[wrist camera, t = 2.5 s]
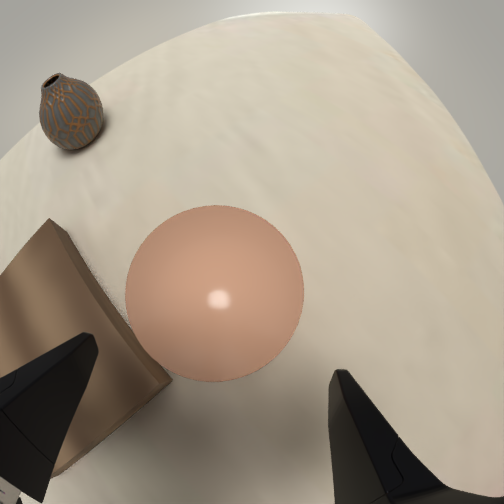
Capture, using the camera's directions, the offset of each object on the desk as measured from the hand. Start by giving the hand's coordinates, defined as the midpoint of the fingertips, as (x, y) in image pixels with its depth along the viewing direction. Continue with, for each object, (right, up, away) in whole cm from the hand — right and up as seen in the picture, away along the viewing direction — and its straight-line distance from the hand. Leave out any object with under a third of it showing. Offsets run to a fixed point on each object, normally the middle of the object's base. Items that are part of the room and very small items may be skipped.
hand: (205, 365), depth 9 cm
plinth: (-15, -5, +9) cm, 18 cm away
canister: (0, -1, +10) cm, 10 cm away
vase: (-17, +17, +17) cm, 30 cm away
